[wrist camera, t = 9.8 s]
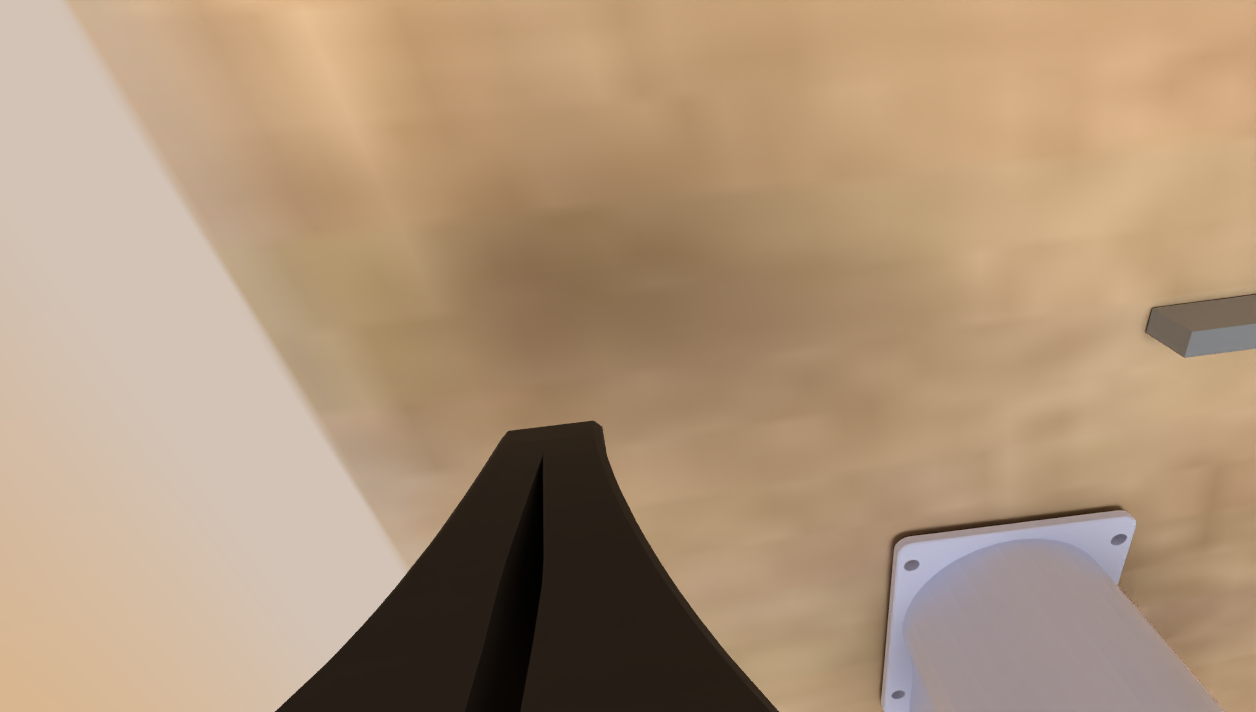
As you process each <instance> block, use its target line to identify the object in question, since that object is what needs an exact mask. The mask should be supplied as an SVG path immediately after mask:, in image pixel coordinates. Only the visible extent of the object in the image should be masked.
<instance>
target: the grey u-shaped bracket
mask: <svg viewBox="0 0 1256 712" xmlns="http://www.w3.org/2000/svg"><path fill="white" fill-rule="evenodd" d="M1146 333H1147V334H1149V335H1150V336H1152V337H1153V338H1155V339H1156V340H1158V341H1159V342H1161V343H1163V344H1164V345H1166V346H1167V347H1169V348H1170V349H1172V350H1173V351H1175V352H1176V353H1178V354H1179V355H1181V356H1183V357H1184V358H1186V357H1194V356H1201V355H1209V354H1217V353H1224V352H1232V351H1240V350H1247V349H1255V348H1256V295H1248V296H1241V297H1233V298H1225V299H1218V300H1210V301H1202V302H1195V303H1187V304H1180V305H1172V306H1164V307H1157V308H1152V312H1151V316H1150V319H1149V323H1148V327H1147V331H1146Z"/></svg>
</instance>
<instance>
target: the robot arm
mask: <svg viewBox="0 0 1256 712" xmlns="http://www.w3.org/2000/svg"><path fill="white" fill-rule="evenodd" d="M1135 528H1136V520H1135V519H1134V518H1133V517H1132V516H1131V515H1130V514H1129V513H1128V512H1126V511H1124V510H1116V511H1108V512H1100V513H1092V514H1084V515H1076V516H1069V517H1061V518H1053V519H1045V520H1037V521H1029V522H1021V523H1013V524H1005V525H997V526H989V527H981V528H973V529H965V530H957V531H949V532H941V533H933V534H925V535H917V536H909V537H905V538H903V539H901V540H900V541H899V542H898V543H897V544H896V545H895V548H894V556H893V568H892V579H891V591H890V603H889V614H888V626H887V638H886V649H885V661H884V673H883V685H882V696H881V707H882V709H883V712H1225V711H1224V710H1223V708H1222V707H1221V706H1220V705H1219V704H1218V703H1217V701H1216V700H1215V699H1214V698H1213V697H1212V696H1211V694H1210V693H1209V692H1208V691H1207V690H1206V689H1205V687H1204V686H1203V685H1202V684H1201V683H1200V682H1199V680H1198V679H1197V678H1196V677H1195V676H1194V675H1193V673H1192V672H1191V671H1190V670H1189V669H1188V668H1187V666H1186V665H1185V664H1184V663H1183V662H1182V661H1181V659H1180V658H1179V657H1178V656H1177V655H1176V654H1175V652H1174V651H1173V650H1172V649H1171V648H1170V647H1169V645H1168V644H1167V643H1166V642H1165V641H1164V640H1163V638H1162V637H1161V636H1160V635H1159V634H1158V633H1157V631H1156V630H1155V629H1154V628H1153V627H1152V626H1151V624H1150V623H1149V622H1148V621H1147V620H1146V619H1145V617H1144V616H1143V615H1142V614H1141V613H1140V612H1139V610H1138V609H1137V608H1136V607H1135V606H1134V605H1133V603H1132V602H1131V601H1130V600H1129V599H1128V598H1127V596H1126V595H1125V594H1124V593H1123V592H1122V591H1121V589H1120V588H1119V587H1118V582H1119V579H1120V576H1121V573H1122V570H1123V566H1124V563H1125V560H1126V557H1127V553H1128V550H1129V547H1130V544H1131V541H1132V537H1133V534H1134V531H1135ZM910 560H911V561H910ZM908 561H910V562H908ZM275 712H779V711H778V710H777V709H776V708H775V707H774V706H773V705H772V703H771V702H770V701H769V700H768V699H767V698H766V697H765V696H764V694H763V693H762V692H761V691H760V690H759V689H758V688H757V687H756V685H755V684H754V683H753V682H752V681H751V680H750V679H749V677H748V676H747V675H746V674H745V673H744V672H743V671H742V670H741V668H740V667H739V666H738V665H737V664H736V663H735V662H734V661H733V659H732V658H731V657H730V656H729V655H728V654H727V653H726V651H725V650H724V649H723V648H722V646H721V645H720V644H719V643H718V641H717V640H716V639H715V638H714V636H713V635H712V634H711V632H710V631H709V630H708V629H707V627H706V626H705V625H704V624H703V622H702V621H701V620H700V619H699V617H698V616H697V614H696V613H695V612H694V610H693V609H692V608H691V606H690V605H689V603H688V602H687V601H686V599H685V598H684V597H683V595H682V594H681V593H680V591H679V590H678V588H677V587H676V585H675V584H674V582H673V581H672V579H671V578H670V576H669V575H668V573H667V572H666V570H665V569H664V567H663V566H662V564H661V563H660V561H659V559H658V558H657V556H656V554H655V553H654V551H653V549H652V548H651V546H650V545H649V543H648V541H647V540H646V538H645V536H644V534H643V533H642V531H641V529H640V527H639V525H638V524H637V522H636V520H635V518H634V516H633V514H632V512H631V510H630V508H629V506H628V504H627V502H626V500H625V498H624V496H623V494H622V492H621V490H620V488H619V486H618V483H617V481H616V479H615V476H614V474H613V471H612V468H611V466H610V463H609V460H608V457H607V454H606V447H605V441H604V435H603V428H602V426H600V425H599V424H597V423H596V422H595V421H587V422H579V423H570V424H562V425H554V426H546V427H537V428H529V429H521V430H513V431H508V432H507V433H506V434H505V436H504V437H503V438H502V439H501V441H500V442H499V444H498V445H497V447H496V449H495V450H494V452H493V453H492V455H491V456H490V458H489V460H488V461H487V463H486V464H485V466H484V467H483V469H482V470H481V472H480V474H479V475H478V477H477V478H476V480H475V481H474V483H473V484H472V486H471V487H470V489H469V490H468V492H467V493H466V495H465V496H464V498H463V499H462V500H461V502H460V503H459V505H458V506H457V507H456V509H455V510H454V512H453V513H452V514H451V516H450V517H449V519H448V520H447V521H446V523H445V524H444V526H443V527H442V529H441V530H440V531H439V533H438V534H437V535H436V537H435V538H434V539H433V541H432V542H431V543H430V545H429V546H428V547H427V549H426V550H425V551H424V552H423V554H422V555H421V556H420V557H419V559H418V560H417V561H416V562H415V564H414V565H413V566H412V567H411V569H410V570H409V571H408V573H407V574H406V575H405V576H404V578H403V579H402V580H401V581H400V583H399V584H398V585H397V586H396V588H395V589H394V590H393V591H392V592H391V594H390V595H389V596H388V597H387V598H386V599H385V601H384V602H383V603H382V604H381V605H380V606H379V608H378V609H377V610H376V611H375V612H374V613H373V615H372V616H371V617H370V618H369V619H368V620H367V621H366V622H365V624H364V625H363V626H362V627H361V628H360V629H359V630H358V631H357V632H356V633H355V634H354V635H353V636H352V637H351V638H350V639H349V641H348V642H347V643H346V644H345V645H344V646H343V647H342V648H341V649H340V650H339V651H338V652H337V653H336V654H335V655H334V656H333V657H332V658H331V659H330V660H329V661H328V662H327V663H326V665H324V666H323V667H322V668H321V669H320V670H319V671H318V672H317V673H316V674H315V675H314V676H313V677H312V678H311V679H310V680H308V681H307V682H306V683H305V684H304V685H303V686H302V687H301V688H300V689H299V690H298V691H297V692H296V693H295V694H294V695H292V696H291V697H290V698H289V699H288V700H287V701H286V702H285V703H284V704H283V705H282V706H281V707H280V708H279V709H277V711H275Z"/></svg>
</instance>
